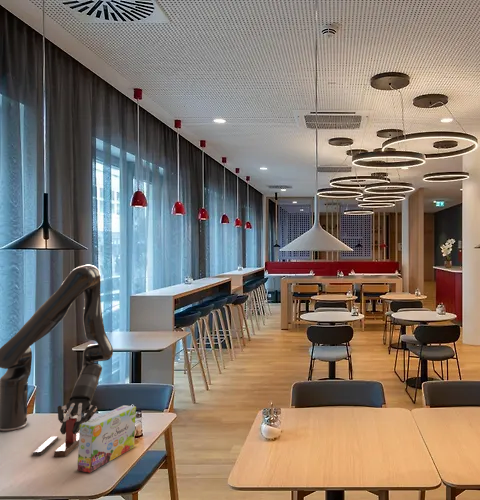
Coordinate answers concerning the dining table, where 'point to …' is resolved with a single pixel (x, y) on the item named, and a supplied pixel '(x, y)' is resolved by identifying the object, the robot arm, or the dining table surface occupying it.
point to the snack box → (106, 438)
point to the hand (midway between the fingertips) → (68, 433)
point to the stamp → (68, 439)
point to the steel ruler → (45, 446)
